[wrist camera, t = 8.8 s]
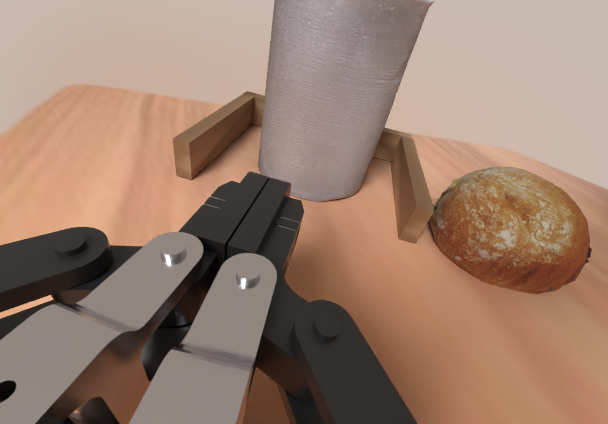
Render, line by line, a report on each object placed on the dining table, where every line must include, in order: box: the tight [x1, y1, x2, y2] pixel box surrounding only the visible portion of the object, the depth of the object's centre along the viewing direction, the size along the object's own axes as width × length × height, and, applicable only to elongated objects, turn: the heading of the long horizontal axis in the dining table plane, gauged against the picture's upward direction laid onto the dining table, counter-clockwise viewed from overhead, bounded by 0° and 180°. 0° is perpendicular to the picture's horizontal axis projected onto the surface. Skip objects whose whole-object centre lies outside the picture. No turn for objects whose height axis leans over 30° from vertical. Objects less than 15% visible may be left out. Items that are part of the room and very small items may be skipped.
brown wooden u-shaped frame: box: [173, 91, 434, 243], centre depth 25 cm, size 18×14×3 cm
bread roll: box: [429, 167, 592, 294], centre depth 21 cm, size 10×10×8 cm
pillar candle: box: [258, 0, 434, 202], centre depth 21 cm, size 10×10×15 cm
